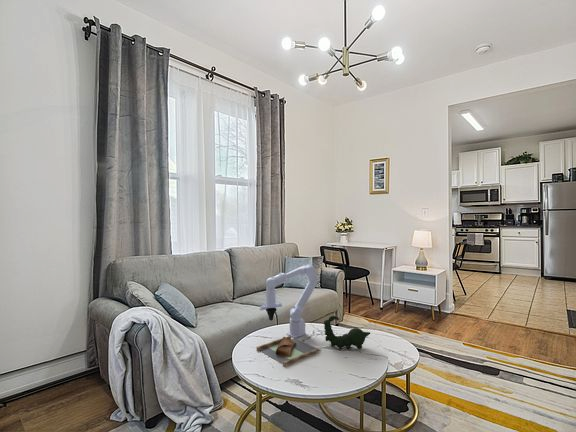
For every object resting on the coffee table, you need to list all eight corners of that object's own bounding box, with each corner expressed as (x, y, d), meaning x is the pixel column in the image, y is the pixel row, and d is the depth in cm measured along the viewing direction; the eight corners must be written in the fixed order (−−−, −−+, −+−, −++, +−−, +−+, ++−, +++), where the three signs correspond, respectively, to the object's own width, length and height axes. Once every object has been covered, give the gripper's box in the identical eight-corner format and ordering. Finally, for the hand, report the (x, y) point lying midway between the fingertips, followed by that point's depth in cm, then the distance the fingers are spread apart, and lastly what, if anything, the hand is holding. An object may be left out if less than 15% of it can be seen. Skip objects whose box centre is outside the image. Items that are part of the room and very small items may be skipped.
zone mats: (295, 338, 193) (295, 338, 193) (321, 350, 176) (321, 350, 176) (259, 350, 176) (259, 350, 176) (284, 365, 159) (284, 365, 159)
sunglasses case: (291, 356, 168) (285, 344, 168) (280, 362, 169) (273, 350, 169) (296, 342, 185) (290, 332, 186) (286, 347, 187) (280, 337, 187)
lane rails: (289, 339, 192) (289, 335, 192) (318, 352, 173) (318, 348, 173) (256, 350, 176) (256, 346, 176) (284, 366, 158) (284, 362, 158)
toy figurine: (326, 354, 175) (373, 351, 173) (323, 319, 175) (370, 316, 173) (326, 346, 185) (370, 344, 182) (323, 313, 185) (367, 311, 182)
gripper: (263, 301, 190) (263, 324, 190) (284, 297, 198) (284, 319, 198) (258, 298, 196) (258, 320, 196) (278, 295, 204) (278, 316, 204)
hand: (271, 319), depth 197 cm, fingers closed
